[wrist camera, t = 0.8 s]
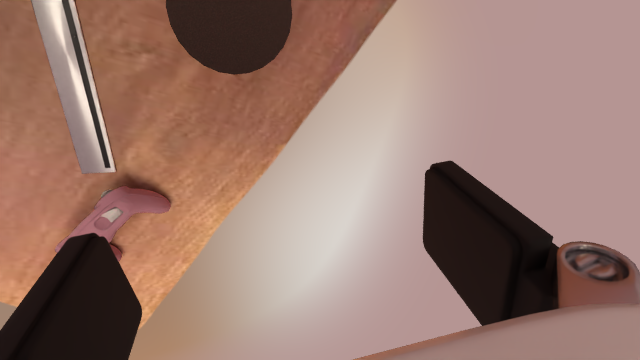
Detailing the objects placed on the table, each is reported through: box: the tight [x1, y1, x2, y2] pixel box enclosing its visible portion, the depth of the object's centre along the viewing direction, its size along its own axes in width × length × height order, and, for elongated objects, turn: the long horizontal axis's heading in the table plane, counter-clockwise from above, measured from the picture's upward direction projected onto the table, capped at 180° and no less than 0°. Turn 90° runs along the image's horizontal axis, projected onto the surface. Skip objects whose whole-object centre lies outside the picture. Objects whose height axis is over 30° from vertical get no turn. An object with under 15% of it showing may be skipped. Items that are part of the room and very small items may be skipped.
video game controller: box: [55, 186, 171, 261], centre depth 34 cm, size 10×5×7 cm, turn 133°
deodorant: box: [166, 0, 292, 74], centre depth 23 cm, size 6×6×15 cm
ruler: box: [31, 0, 116, 174], centre depth 29 cm, size 22×3×1 cm, turn 178°
